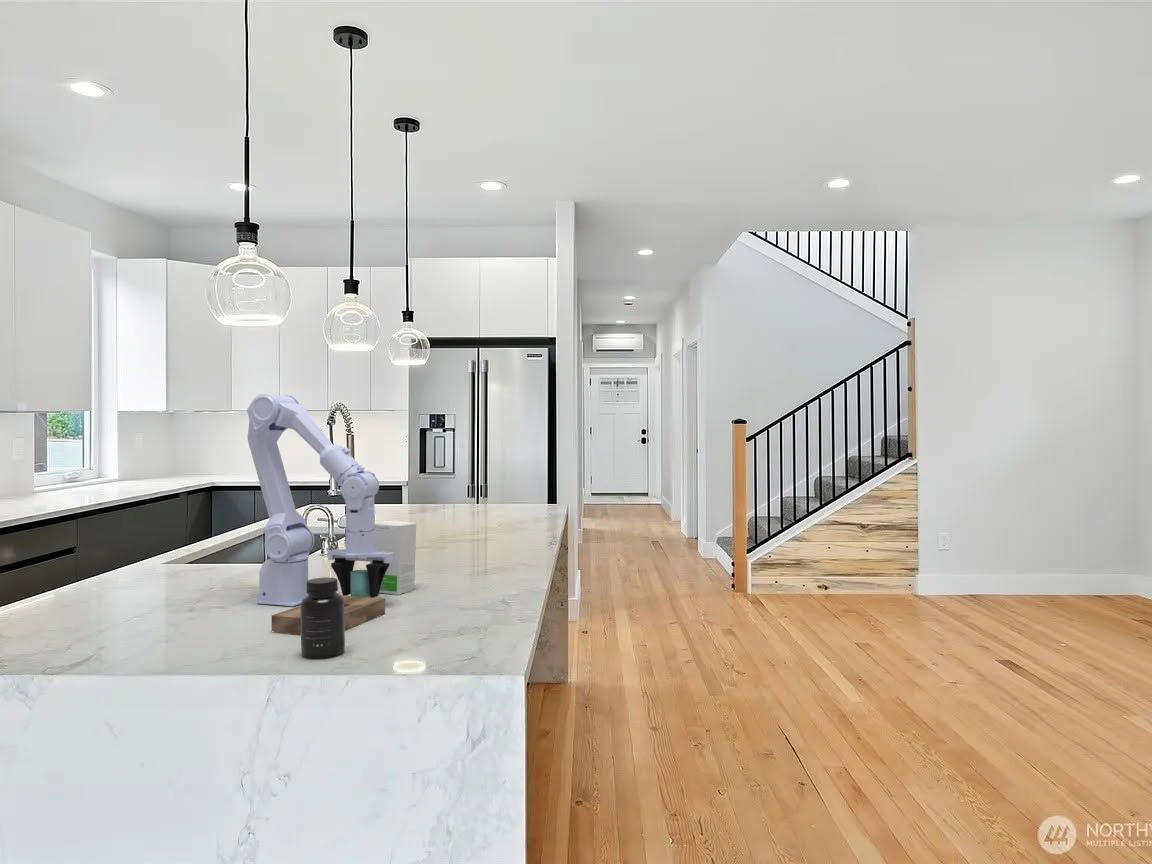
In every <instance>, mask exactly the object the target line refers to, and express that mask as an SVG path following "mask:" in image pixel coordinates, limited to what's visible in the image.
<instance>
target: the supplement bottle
mask: <svg viewBox="0 0 1152 864" xmlns="http://www.w3.org/2000/svg"><path fill="white" fill-rule="evenodd" d="M338 582H339V581H338V578H336V577H328V576H327V577H325V576H324V577H317V578H311V579H308V581H307V589H306V593H308V596H307V597H305V598H304V599H303V600H302V602H301V604H299V606H300V615H301V635H300V651H301V655H302V656H303V657H304V658H306V659H312V660H319V659H320V660H322V659H329V658H334V657H336V656H339V655H341V654H343V652H344V650H345V649H346V634H345V633H346V630H345V616H344V599H343V598H342V596H340V595H341V594H338V593H337V592H338V591H339V586H338V584H339V583H338Z"/></svg>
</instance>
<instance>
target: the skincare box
mask: <svg viewBox="0 0 1152 864" xmlns="http://www.w3.org/2000/svg"><path fill="white" fill-rule="evenodd" d="M416 538H417V523H416V522H411V521H402V520H389V519H388V520H386V519H385V520H381V521H376V522H375V550H377V551H383V552H392V553H393V562H391V563H390V565H389V567H388V569H387V571H386V573H385V575H384V577H383V580H382V583H381V587H380V591H379V594H386V595H387V594H388V595H395V596H400V594H401V595H403V594H406V593H409V592H411V591H414V590H415V581H416V580H415V579H416V577H415V576H416V547H417V544H416V542H417V539H416ZM370 563H372V562H369V564H370ZM402 593H403V594H402Z"/></svg>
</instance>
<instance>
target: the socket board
mask: <svg viewBox="0 0 1152 864" xmlns="http://www.w3.org/2000/svg"><path fill="white" fill-rule="evenodd" d="M339 595H340V596H342V598H343V599H344V616H345V631H347V630H350V629H352V628H354V626H355V627H357V626H359V625H362V624H364V623H366V621H367V622H368V620H369V621H371V620H374V619H375V617H376V618H378V617H380V616H379V615H381V616H382V614H383V615H385V614H386V599H385V598H382V597H380V598H379V597H375V598H370V597H357V596H351V595H346V596H345V595H343V594H339ZM384 613H385V614H384ZM377 616H378V617H377ZM373 618H374V619H373ZM370 619H371V620H370ZM363 622H364V623H363ZM361 623H362V624H361ZM272 631H274V632H273V633H275V632H282V633H281V634H285V633H290V634H289V635H295V634H297V635H298V636H301V615H300V605H299V606H298V605H297V606H296V607H295V606H294V607H293V608H290V609H287V610H284V611H281V612H277V613H275V614H272V615H271V632H272Z"/></svg>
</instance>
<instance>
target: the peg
mask: <svg viewBox="0 0 1152 864" xmlns="http://www.w3.org/2000/svg"><path fill="white" fill-rule="evenodd" d="M350 596H357V597H370V590H369V576H368V572H367V569H355V570H354V569H353V571H351V594H350Z"/></svg>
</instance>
